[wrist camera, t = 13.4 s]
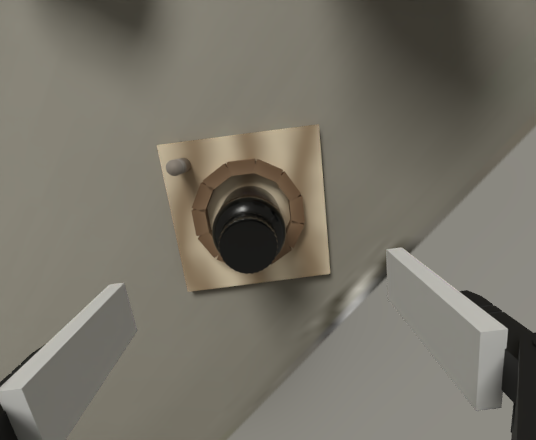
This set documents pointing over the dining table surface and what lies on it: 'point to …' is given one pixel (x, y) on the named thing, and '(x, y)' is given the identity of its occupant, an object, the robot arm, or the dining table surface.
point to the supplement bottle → (249, 230)
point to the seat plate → (239, 175)
